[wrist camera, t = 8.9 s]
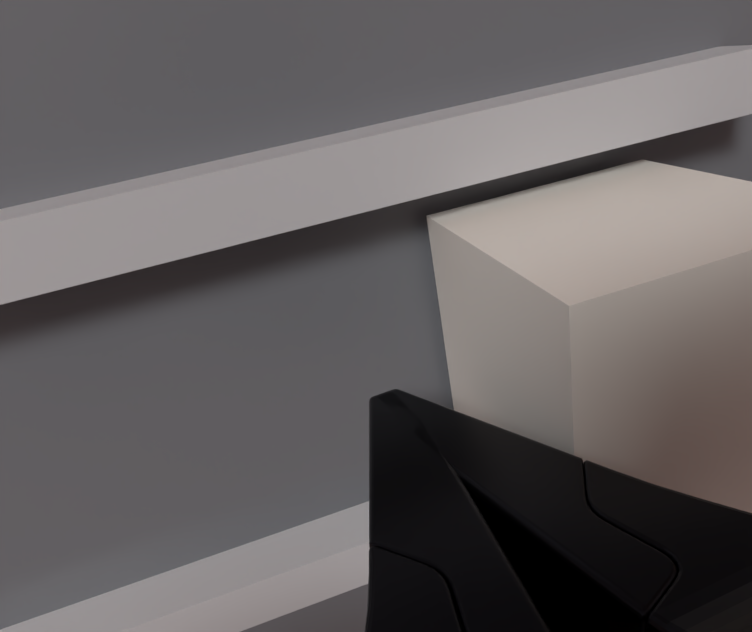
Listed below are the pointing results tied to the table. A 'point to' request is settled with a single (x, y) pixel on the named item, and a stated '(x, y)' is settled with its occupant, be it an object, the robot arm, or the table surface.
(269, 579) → the slider switch base
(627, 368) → the switch knob
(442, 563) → the robot arm
